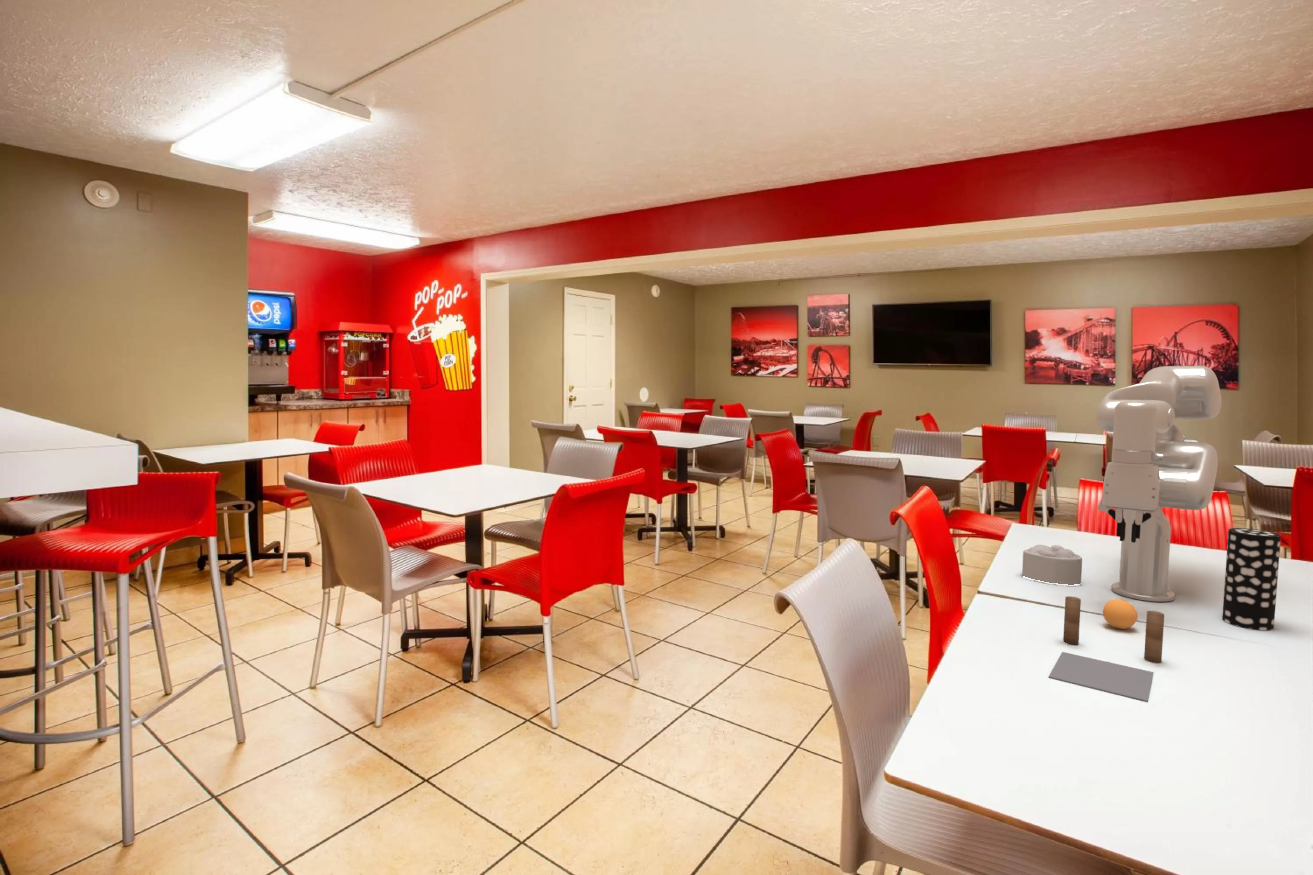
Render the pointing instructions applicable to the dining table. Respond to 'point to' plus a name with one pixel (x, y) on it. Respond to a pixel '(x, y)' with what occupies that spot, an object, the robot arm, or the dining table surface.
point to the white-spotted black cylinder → (1251, 578)
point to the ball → (1120, 614)
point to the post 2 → (1154, 636)
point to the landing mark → (1103, 676)
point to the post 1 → (1072, 620)
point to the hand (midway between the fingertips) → (1127, 540)
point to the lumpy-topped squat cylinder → (1052, 565)
